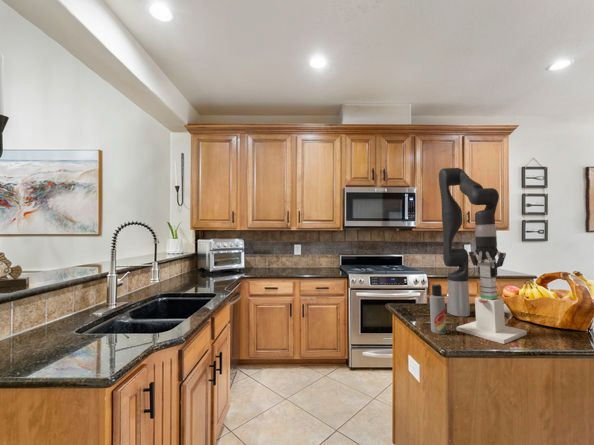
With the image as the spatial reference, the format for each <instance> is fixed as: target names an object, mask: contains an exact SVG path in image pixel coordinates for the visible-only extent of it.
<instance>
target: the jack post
mask: <svg viewBox="0 0 594 445" xmlns="http://www.w3.org/2000/svg"><path fill="white" fill-rule="evenodd" d="M478 265H480V274H479V279H480V282H479V283H480V285H479V287H480V295H479V297H480V298H481V299H487V300H496V299H497V298H498V295H497V293H498V291H497V287H498V286H497V280H496V279H497V276H496V277H492V275H491V268H492V267H491V266H492V263H489V261H485V262H482V263H478Z"/></svg>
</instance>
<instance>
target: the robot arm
mask: <svg viewBox="0 0 594 445" xmlns="http://www.w3.org/2000/svg"><path fill="white" fill-rule="evenodd" d="M438 185H439V191H440V199H441V201H440V202H441V220H442V221H441V222H442V233H443V236H442V237H443V238H442V239H443V241H442V242H443V247H442V250H443V251H442V252H443V253H442V254H443V255H442V258H443V264H444V266H445V267H449V268H453V267H454V268H455V267H456V268H457V270H455V271H453V272H451V273H450V272H449V273H448V274H447V290H448V292H447V294H446V310H447V311H446V312H447V314H449V315H452V316H454V317H455V316H456V317H469V316H471V309H470V308H471V307H470V306H471V305H470V286H469V283H470V282H469V257H470V261H471V263H472V265H473V266H476V267H477V271H478V272H477V273H478V275H480V265H478V263H482V262H486V261H488V262H489V263H492V266H491V267H492V268H491V275H492V277H496V278H497V276H498V268H500V267H503V264H504V262H505V259H506V255H507V253H506V252H501V251H499V250H498V239H497V238H498V237H497V228H496V211H497V207H498V206H497V205H498V203H499V199H500V194H499V192H498V190H497V189H495V187H494V188H493V187H490V188H489V187H488V188H485V187H483V186H482V185H481V184H480V183H479V182H477V181H475V180H473V179H472V178H471V177H470V176H469V175H468V174H467V173H466V171H464V170H463V169H462V168H459V167H448V168H447V167H446V168H445V167H444V168H441V169H440V170H439V173H438ZM453 186H455V187H456V186H459V190H460V192H461V193H462V194H463V195H465V196H466V197H467V199H468V200H469V203H470V204H471V205H474V206H485V208H484V209H483V210H479V211H476V212H475V213H474V223H475V224H474V239H475V240H474V241H475V250H474V251H473V250H472V251H469V252H468V250H467V249H465V248H452V244H453V242H454V241H453V240H454V238H455V236H456V235H457V233H458V232H459V230H460V229H461V227H462V225H463V213H462V212H463V211H462V208H461V206H460V205H459V203H458V202H457V201H456V199H454V197H453V195H452V193H451V191H450V190H451V189H450V187H453ZM477 256H478V257H477ZM496 257H498V258H496Z"/></svg>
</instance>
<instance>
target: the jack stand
mask: <svg viewBox="0 0 594 445" xmlns="http://www.w3.org/2000/svg"><path fill="white" fill-rule="evenodd" d="M504 300H505V299H504V298H501V297H497V299H496V300H487V299H481V298H480V296H476V297H474V308H475V320H474V321H470V322H468V323H465V324H461V325H458V326H456V331H457V332H461V333H464V334H467V335H468V334H469V335H471V336H476V337H477V338H478V337H479V338H481V339H485V340H488V341H492V342H496V343H499V344H503V345H505V344H507V343H510V342H513V341H515V340H517V339H520V338H522V337H525V336H526V335H528V333H527V332H528V331H527V330H525V329H521V328H518V327H512V326H507V325H506V322H505V306H504V305H505V303H504Z"/></svg>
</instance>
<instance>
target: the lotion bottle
mask: <svg viewBox="0 0 594 445" xmlns="http://www.w3.org/2000/svg"><path fill="white" fill-rule="evenodd" d="M442 289H443V287H442V285H441V284H440V283H439V284H438V283H436V284H435V283H434V284H432V285H431V294H430V295H429V312H430V314H429V315H430V330H431V332H432V333H434V334H436V335H445V334H446V333H447V324H446V323H447V322H446V321H447V320H446V303H445V301H446V300H445V296H444V295H443V294H442V293H443V290H442Z"/></svg>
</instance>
